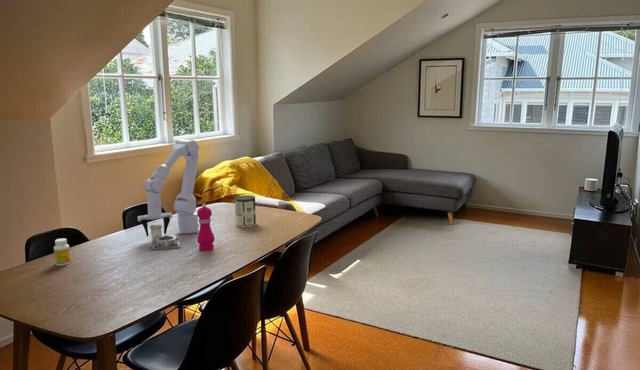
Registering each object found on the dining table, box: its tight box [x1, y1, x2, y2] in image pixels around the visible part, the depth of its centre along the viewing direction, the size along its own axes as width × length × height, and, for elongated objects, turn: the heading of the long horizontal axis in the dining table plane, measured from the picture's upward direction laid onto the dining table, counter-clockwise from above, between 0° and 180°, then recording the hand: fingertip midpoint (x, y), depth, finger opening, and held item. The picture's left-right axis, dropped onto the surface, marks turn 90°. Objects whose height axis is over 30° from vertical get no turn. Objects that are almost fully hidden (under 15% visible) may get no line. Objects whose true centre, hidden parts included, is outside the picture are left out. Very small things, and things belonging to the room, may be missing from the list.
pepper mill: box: [196, 203, 216, 252], centre depth 205 cm, size 7×7×20 cm
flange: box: [152, 234, 181, 251], centre depth 212 cm, size 11×11×3 cm
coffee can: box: [234, 194, 257, 228], centre depth 243 cm, size 10×10×14 cm
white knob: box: [149, 223, 163, 243], centre depth 218 cm, size 5×5×7 cm
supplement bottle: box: [53, 237, 72, 266], centre depth 189 cm, size 5×5×10 cm
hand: (156, 234), depth 218 cm, fingers open, 7 cm apart
